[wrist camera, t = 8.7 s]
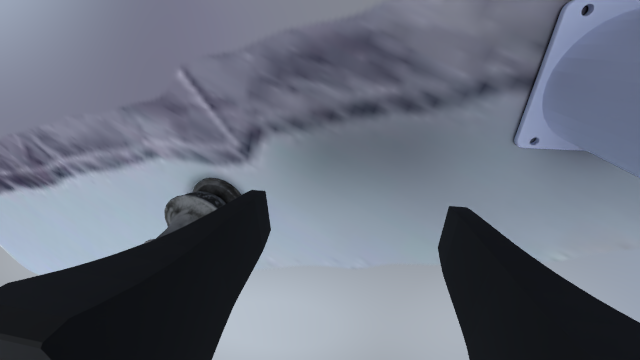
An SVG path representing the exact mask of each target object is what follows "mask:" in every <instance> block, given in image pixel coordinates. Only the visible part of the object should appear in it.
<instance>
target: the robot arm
mask: <svg viewBox="0 0 640 360" xmlns="http://www.w3.org/2000/svg"><path fill="white" fill-rule="evenodd" d="M586 5H587V6H588V12H587V13H586V14H585V15H584V16H582V14H581V11H582V9H583V7H584V6H586ZM535 137H536V140H535V141H534V142H532V143H530V140H531V139H532V138H535ZM514 142H515V144H516V145H517V146H519V147H521V148H535V149H558V150H581V151H588V152H590V153H592V154H594V155H596V156H598V157H600V158H602V159H604V160H606V161H607V162H609V163H611V164H613V165H615V166H617V167H619V168H621V169H623V170H625V171H627V172H629V173H631V174H633V175H635V176H637V177H639V178H640V0H572V1H570V2H568V3H567V4H566V5H565V6H564V7H563V8H562V10H561V12H560V15H559V18H558V21H557V23H556V26H555V29H554V32H553V34H552V37H551V40H550V43H549V45H548V48H547V51H546V54H545V56H544V59H543V62H542V65H541V67H540V70H539V73H538V76H537V78H536V81H535V84H534V87H533V89H532V92H531V95H530V98H529V100H528V103H527V106H526V109H525V111H524V114H523V117H522V120H521V122H520V125H519V128H518V131H517V133H516V136H515V139H514ZM270 231H271V228H270V220H269V213H268V206H267V199H266V192H265V191H257V190H251V191H249V192H247V193H245V194H243V195H241V196H239V197H237V198H235V199H234V200H232V201H230V202H228V203H227V204H225V205H223V206H221V207H220V208H218V209H216V210H214V211H213V212H211V213H209V214H207V215H205V216H203V217H201V218H199V219H198V220H196V221H194V222H192V223H190V224H188V225H186V226H184V227H182V228H180V229H178V230H175V231H173V232H171V233H169V234H167V235H164V236H162V237H160V238H157V239H155V240H152V241H150V242H147V243H145V244H142V245H139V246H136V247H134V248H131V249H128V250H125V251H123V252H120V253H117V254H114V255H111V256H108V257H105V258H102V259H98V260H95V261H92V262H88V263H85V264H82V265H78V266H75V267H71V268H67V269H64V270H60V271H56V272H52V273H48V274H44V275H40V276H36V277H32V278H27V279H23V280H19V281H15V282H11V283H7V284H5V285H3V286H1V287H0V360H212V358H213V355H214V352H215V350H216V347H217V345H218V342H219V339H220V337H221V334H222V332H223V330H224V327H225V325H226V323H227V320H228V318H229V315H230V313H231V310H232V308H233V306H234V304H235V302H236V300H237V298H238V296H239V294H240V293H241V291H242V289H243V287H244V285H245V283H246V282H247V280H248V278H249V276H250V274H251V272H252V271H253V269H254V267H255V265H256V263H257V261H258V259H259V257H260V256H261V254H262V252H263V250H264V247H265V244H266V242H267V239H268V236H269V233H270ZM438 251H439V257H440V263H441V267H442V272H443V276H444V279H445V282H446V285H447V288H448V291H449V294H450V297H451V300H452V303H453V306H454V309H455V312H456V315H457V318H458V321H459V324H460V326H461V330H462V333H463V336H464V339H465V343H466V346H467V350H468V355H469V359H470V360H640V323H639V322H637V321H635V320H634V319H632V318H630V317H628V316H626V315H625V314H623V313H621V312H619V311H617V310H615V309H614V308H612V307H610V306H609V305H607V304H605V303H603V302H602V301H600V300H598V299H596V298H595V297H593V296H591V295H590V294H588V293H587V292H585V291H583V290H582V289H580V288H578V287H577V286H575V285H574V284H572V283H570V282H569V281H567V280H566V279H564V278H562V277H561V276H559V275H558V274H556V273H555V272H553V271H552V270H550V269H549V268H547V267H546V266H545V265H543V264H542V263H540V262H539V261H537V260H536V259H535V258H533V257H532V256H530V255H529V254H528V253H526V252H525V251H523V250H522V249H521V248H519V247H518V246H517V245H515V244H514V243H513V242H511V241H510V240H509V239H507V238H506V237H505V236H504V235H502V234H501V233H500V232H498V231H497V230H496V229H495V228H493V227H492V226H491V225H490V224H488V223H487V222H486V221H484V220H483V219H482V218H481V217H479V216H478V215H477V214H475V213H474V212H473V211H471V210H470V209H468V208H466V207H454V206H449V209H448V212H447V216H446V220H445V223H444V227H443V231H442V235H441V238H440V242H439V246H438Z"/></svg>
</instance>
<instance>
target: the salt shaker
mask: <svg viewBox="0 0 640 360" xmlns="http://www.w3.org/2000/svg"><path fill="white" fill-rule="evenodd" d="M239 196H241V194H240V193H239V192H238V190H237V189H235V188H234V187H233V186H232V185H231V184H229V183H227V182H226V181H223V180H220V179H216V178H207V179H203V180H202V181H200V182H198V183H197V185H196V186H195V187H194V190H193V193H188V194H185V195H181V196H177V197H175V198H173V199H171V200H170V201H169V202H168V204H167V205H166V208H165V220H166V222H167V225H168V228H167V229H166V230H165V231H164V232H163V233H162V234H160V235H159V236H158V237H157V238H160V237H162V236H164V235H167V234H169V233H171V232H173V231H175V230H178V229H180V228H182V227H184V226H186V225H188V224H190V223H192V222H194V221H196V220H198V219H199V218H201V217H203V216H205V215H207V214H209V213H211V212H213V211H214V210H216V209H218V208H220V207H221V206H223V205H225V204H227V203H228V202H230V201H232V200H234V199H235V198H237V197H239ZM157 238H156V239H157ZM152 240H155V239H152ZM152 240H148V241H146V242H145V243H147V242H150V241H152ZM145 243H144V244H145Z"/></svg>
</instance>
